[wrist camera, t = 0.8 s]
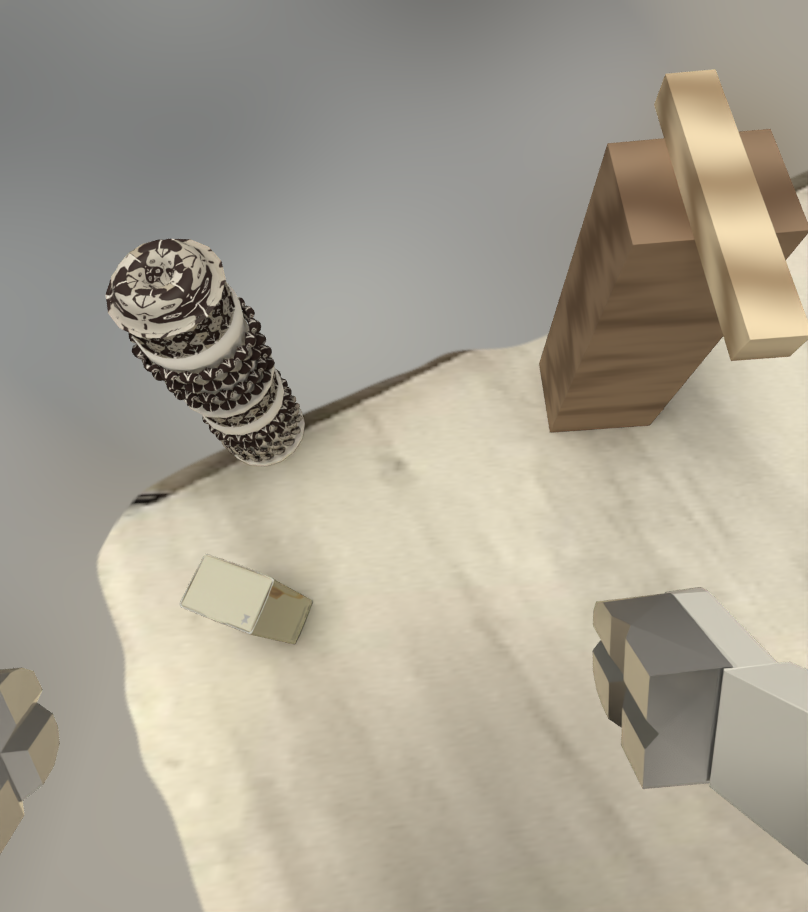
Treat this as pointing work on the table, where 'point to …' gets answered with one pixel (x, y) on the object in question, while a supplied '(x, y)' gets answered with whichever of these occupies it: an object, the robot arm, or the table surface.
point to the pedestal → (643, 288)
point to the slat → (729, 220)
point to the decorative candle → (205, 347)
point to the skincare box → (245, 600)
